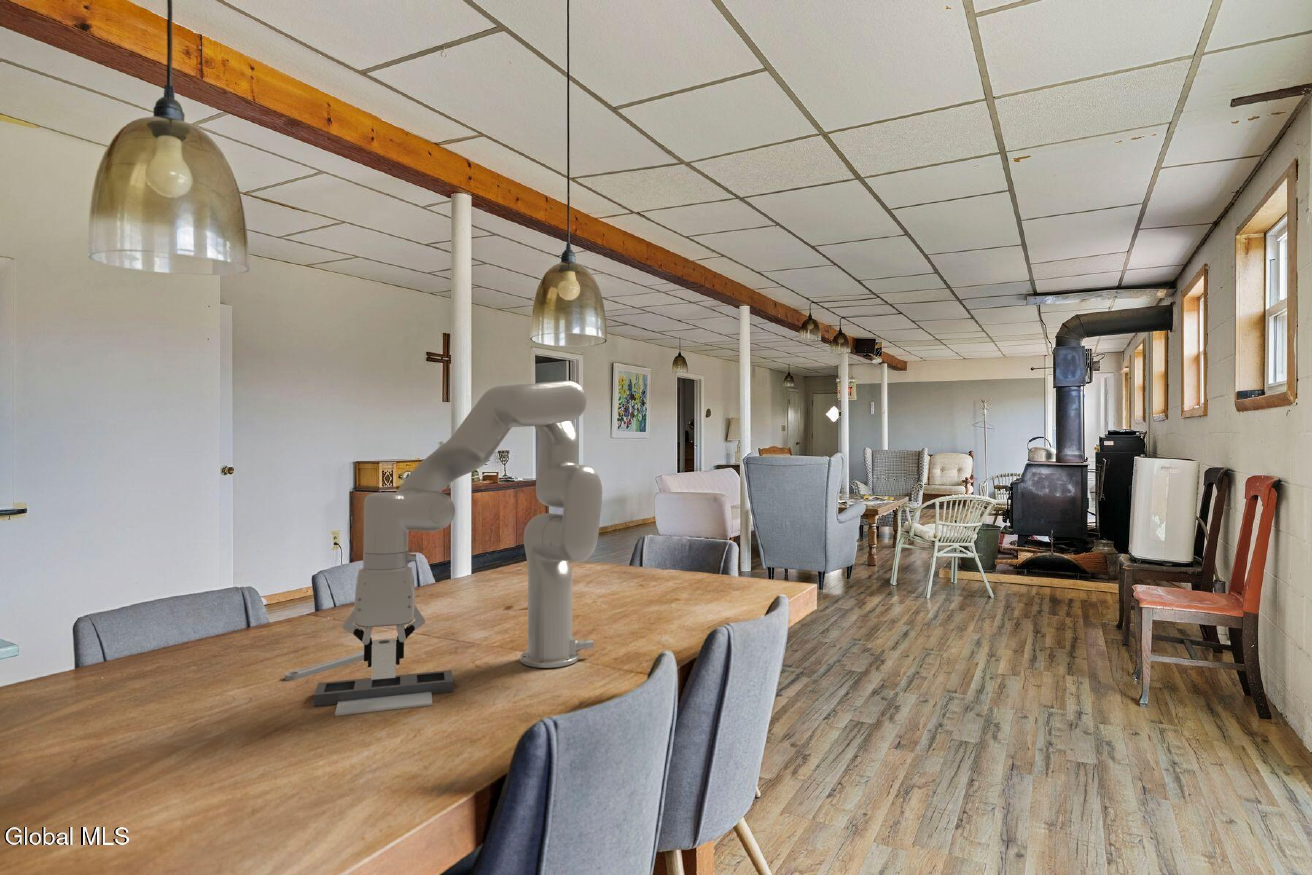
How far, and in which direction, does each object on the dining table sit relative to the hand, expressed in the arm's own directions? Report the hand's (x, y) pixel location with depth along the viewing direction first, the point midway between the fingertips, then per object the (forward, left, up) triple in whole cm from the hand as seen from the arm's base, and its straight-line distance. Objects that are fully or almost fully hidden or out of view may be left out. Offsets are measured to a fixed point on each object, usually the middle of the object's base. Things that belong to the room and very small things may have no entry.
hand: (384, 662), depth 129 cm
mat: (0, 0, -7) cm, 7 cm away
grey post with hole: (0, 0, -2) cm, 2 cm away
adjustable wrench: (+9, -29, -8) cm, 32 cm away
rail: (0, -7, -7) cm, 10 cm away
